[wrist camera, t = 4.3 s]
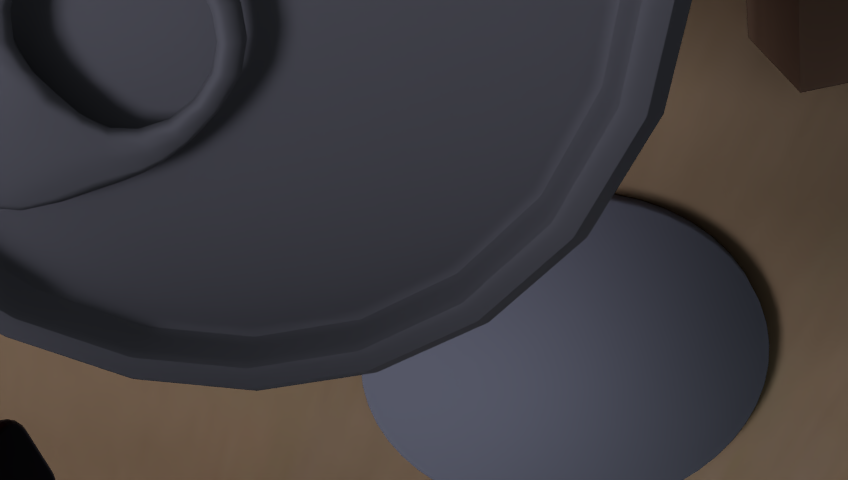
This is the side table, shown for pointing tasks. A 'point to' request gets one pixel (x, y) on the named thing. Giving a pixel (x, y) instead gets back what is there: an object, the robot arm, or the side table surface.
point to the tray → (803, 39)
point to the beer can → (305, 172)
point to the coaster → (591, 365)
